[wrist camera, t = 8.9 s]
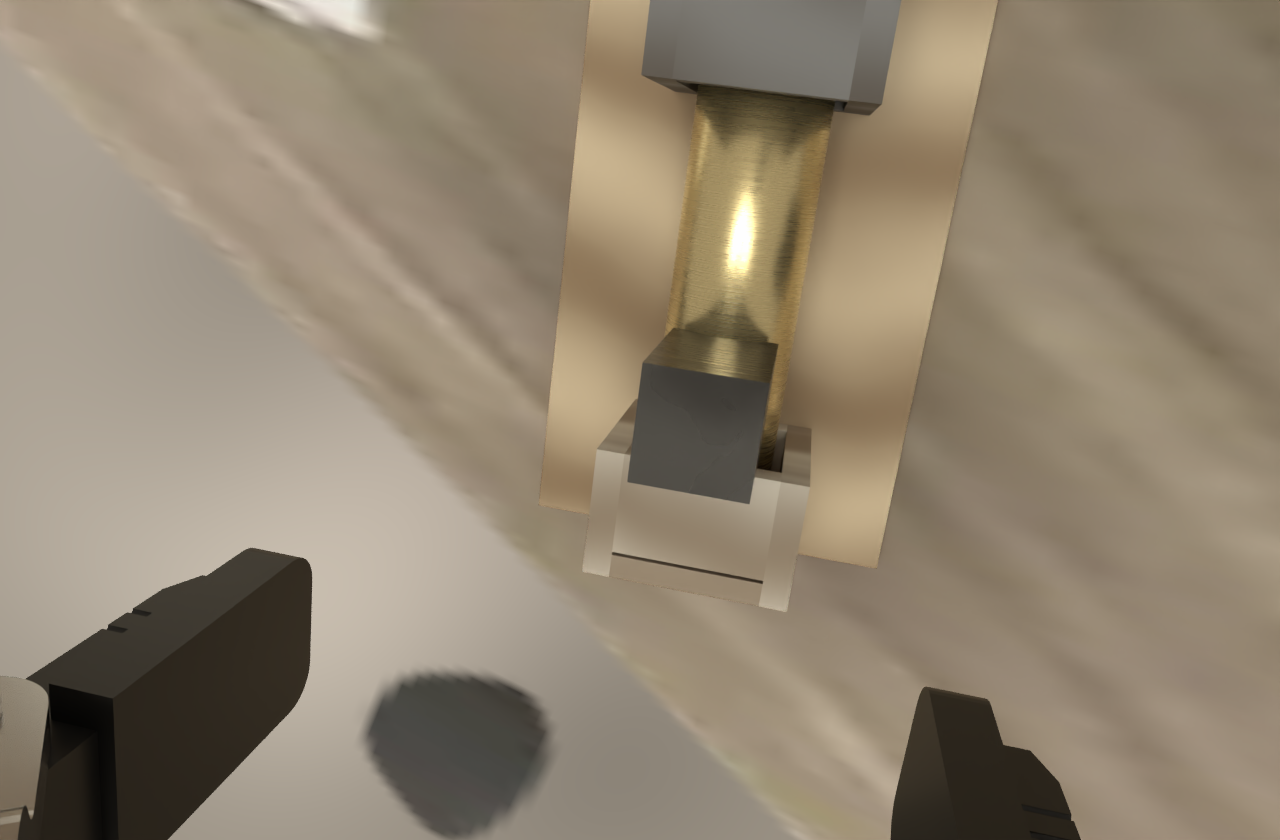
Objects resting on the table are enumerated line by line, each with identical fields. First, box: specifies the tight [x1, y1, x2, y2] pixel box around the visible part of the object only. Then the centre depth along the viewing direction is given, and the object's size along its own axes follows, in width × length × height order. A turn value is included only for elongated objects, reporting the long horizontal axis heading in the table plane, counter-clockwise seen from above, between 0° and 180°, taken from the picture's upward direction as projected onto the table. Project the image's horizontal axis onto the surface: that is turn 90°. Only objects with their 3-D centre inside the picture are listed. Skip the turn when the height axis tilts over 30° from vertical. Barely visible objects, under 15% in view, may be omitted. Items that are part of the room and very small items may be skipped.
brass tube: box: [627, 84, 835, 504], centre depth 26 cm, size 17×4×8 cm, turn 173°
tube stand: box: [539, 0, 998, 612], centre depth 27 cm, size 28×12×7 cm, turn 173°
